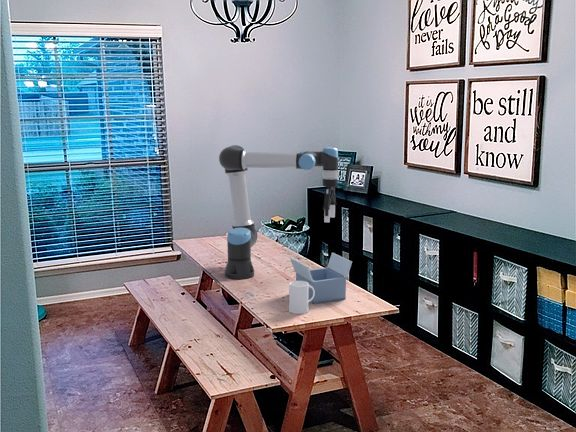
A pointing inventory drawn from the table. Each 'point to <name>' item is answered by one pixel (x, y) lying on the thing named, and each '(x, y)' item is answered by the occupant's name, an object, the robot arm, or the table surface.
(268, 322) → the table surface
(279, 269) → the table surface
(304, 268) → the flap left
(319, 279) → the box
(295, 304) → the mug
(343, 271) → the flap right
